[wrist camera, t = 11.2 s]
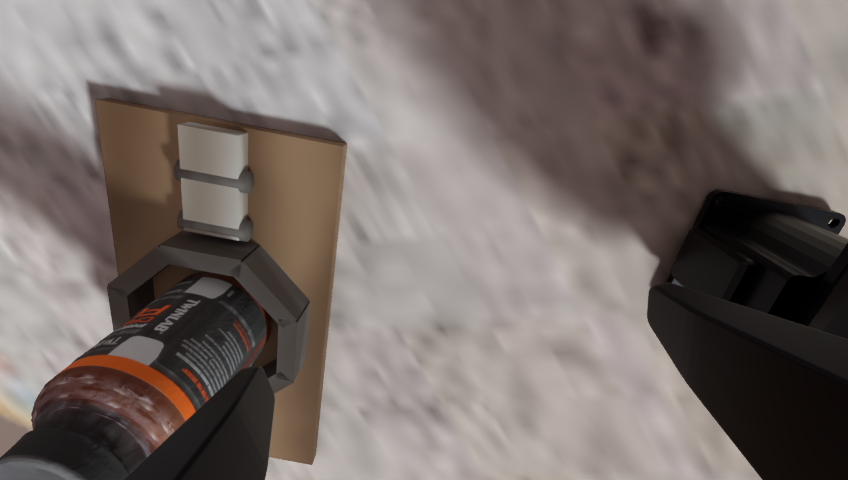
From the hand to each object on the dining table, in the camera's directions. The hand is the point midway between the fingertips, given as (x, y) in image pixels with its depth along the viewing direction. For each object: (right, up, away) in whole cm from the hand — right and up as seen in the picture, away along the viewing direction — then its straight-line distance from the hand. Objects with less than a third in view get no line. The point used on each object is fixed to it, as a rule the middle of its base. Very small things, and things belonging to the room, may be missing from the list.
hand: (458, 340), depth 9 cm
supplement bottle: (-12, -2, +15) cm, 19 cm away
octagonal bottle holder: (-12, -2, +15) cm, 20 cm away
